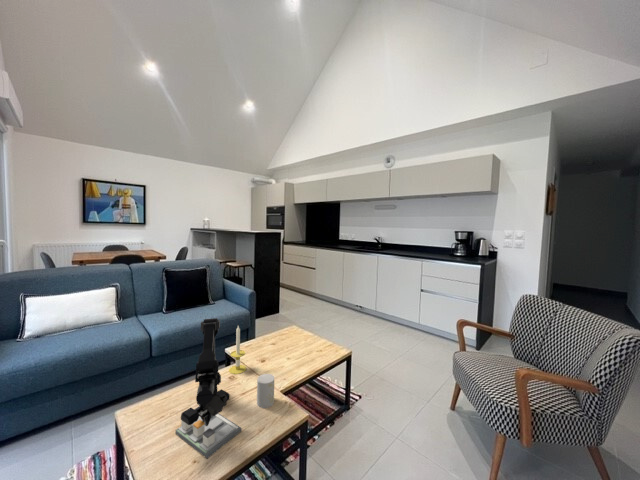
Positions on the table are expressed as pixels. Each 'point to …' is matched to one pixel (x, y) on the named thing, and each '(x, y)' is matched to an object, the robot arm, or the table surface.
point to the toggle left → (185, 425)
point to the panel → (222, 435)
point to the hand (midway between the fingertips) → (206, 425)
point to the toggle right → (208, 437)
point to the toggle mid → (198, 428)
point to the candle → (237, 356)
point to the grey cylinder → (265, 390)
